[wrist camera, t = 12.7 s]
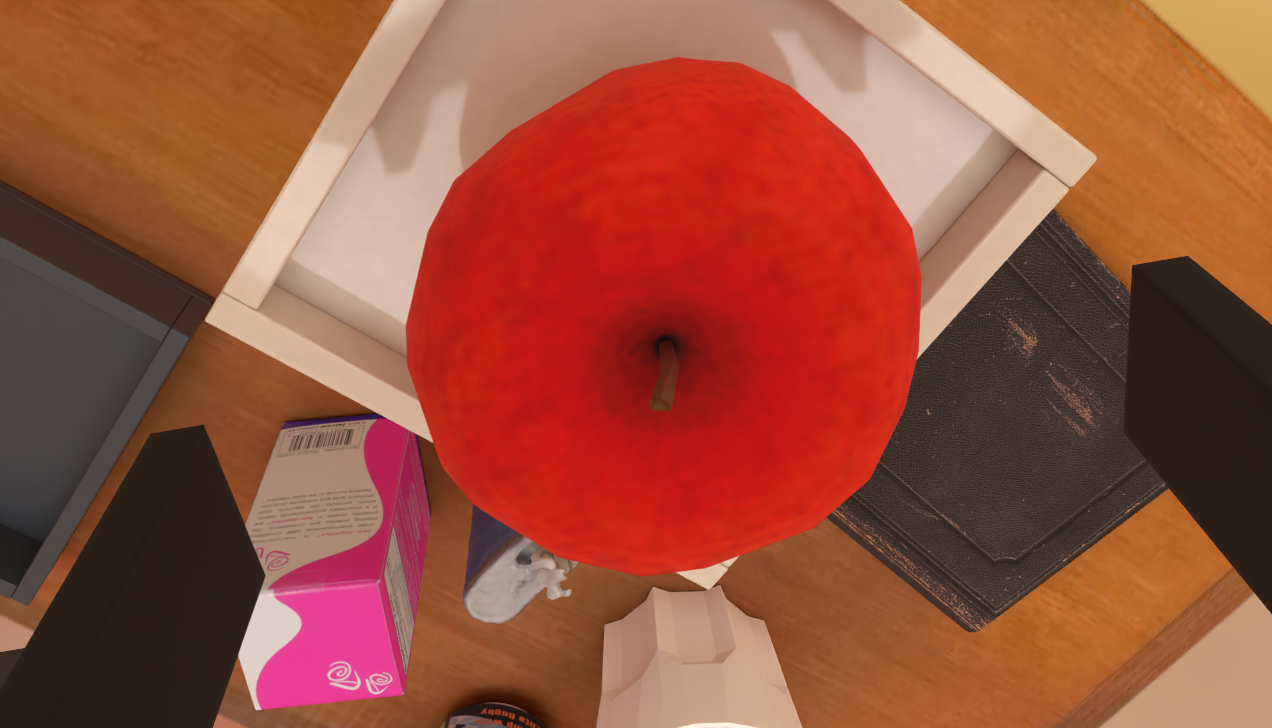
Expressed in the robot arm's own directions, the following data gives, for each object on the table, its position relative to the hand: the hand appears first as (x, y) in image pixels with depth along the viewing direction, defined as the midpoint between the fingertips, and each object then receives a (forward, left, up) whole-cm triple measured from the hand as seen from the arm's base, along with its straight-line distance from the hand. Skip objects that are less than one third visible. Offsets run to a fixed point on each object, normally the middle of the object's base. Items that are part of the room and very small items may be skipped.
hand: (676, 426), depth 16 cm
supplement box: (+17, -15, -30) cm, 37 cm away
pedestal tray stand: (0, 0, -29) cm, 29 cm away
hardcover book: (+18, +11, -30) cm, 36 cm away
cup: (+31, -3, -30) cm, 43 cm away
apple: (0, 0, -10) cm, 10 cm away
